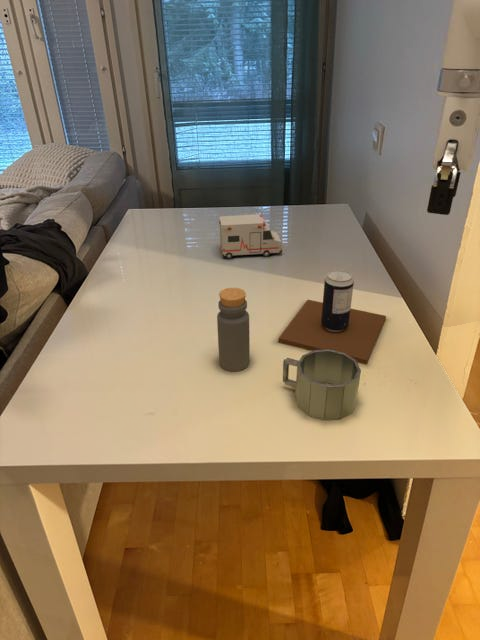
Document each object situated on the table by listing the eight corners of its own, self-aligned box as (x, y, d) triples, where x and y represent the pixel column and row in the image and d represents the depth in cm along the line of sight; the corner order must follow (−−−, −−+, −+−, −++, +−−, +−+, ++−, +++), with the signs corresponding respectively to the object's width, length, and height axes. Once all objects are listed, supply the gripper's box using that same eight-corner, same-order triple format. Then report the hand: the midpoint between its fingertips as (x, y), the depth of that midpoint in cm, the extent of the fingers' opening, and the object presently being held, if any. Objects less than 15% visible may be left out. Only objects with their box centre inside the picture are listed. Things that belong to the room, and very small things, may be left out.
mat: (385, 319, 102) (386, 315, 101) (366, 364, 88) (367, 360, 88) (307, 303, 109) (307, 299, 108) (278, 342, 95) (278, 338, 95)
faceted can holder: (361, 390, 82) (366, 358, 78) (346, 427, 74) (350, 393, 71) (292, 371, 87) (294, 340, 83) (271, 404, 79) (272, 371, 76)
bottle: (241, 350, 93) (240, 283, 85) (255, 366, 88) (254, 296, 81) (214, 358, 91) (210, 290, 83) (227, 375, 86) (224, 304, 78)
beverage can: (349, 322, 99) (356, 271, 93) (346, 335, 95) (352, 283, 89) (323, 317, 101) (327, 267, 95) (318, 331, 97) (322, 279, 90)
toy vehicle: (282, 257, 132) (284, 223, 127) (222, 260, 131) (221, 226, 125) (276, 244, 140) (277, 212, 135) (219, 247, 139) (218, 215, 134)
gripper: (495, 89, 57) (463, 224, 66) (497, 79, 70) (470, 192, 79) (430, 88, 60) (407, 217, 69) (444, 78, 73) (424, 187, 82)
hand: (441, 204), depth 74 cm, fingers open, 9 cm apart
